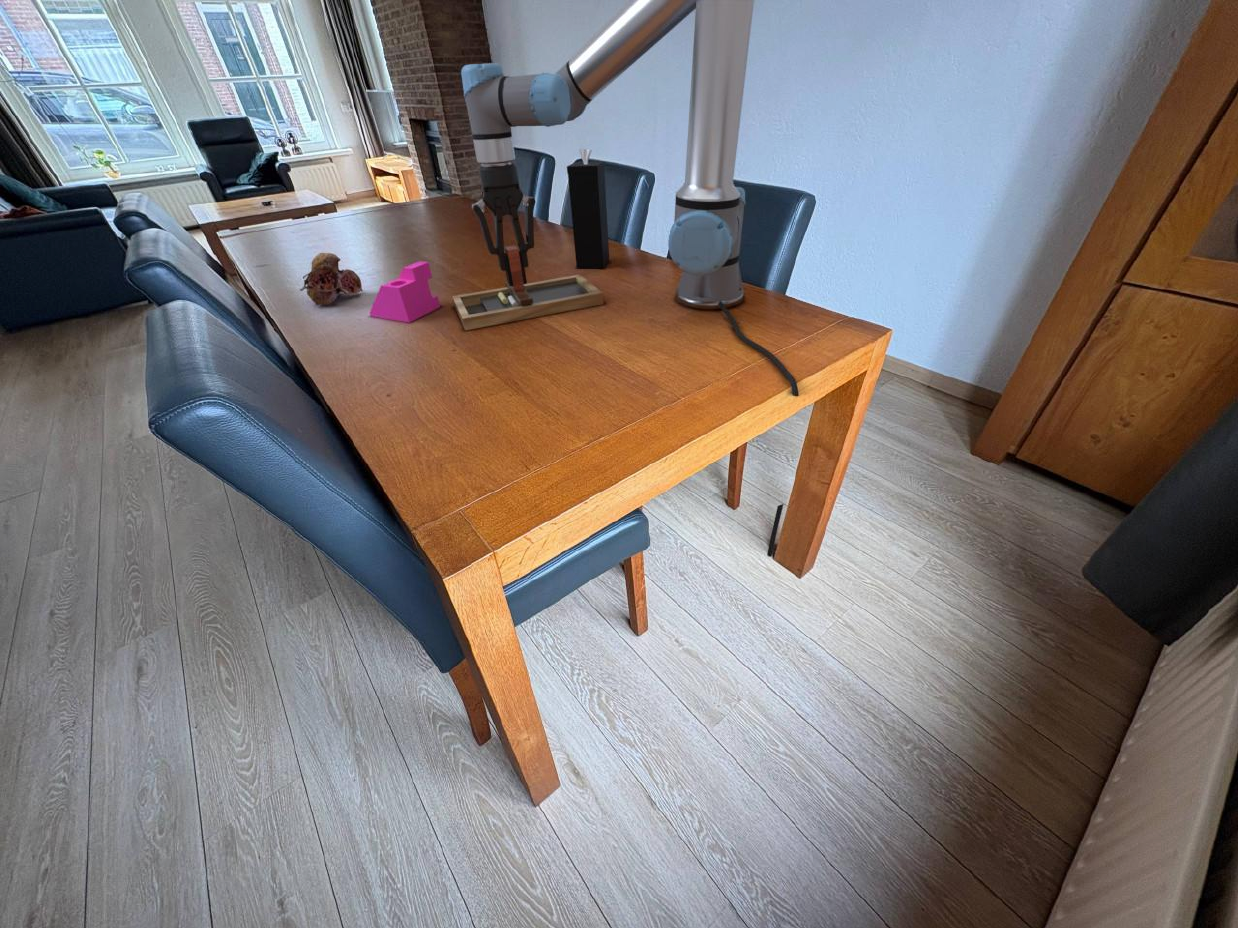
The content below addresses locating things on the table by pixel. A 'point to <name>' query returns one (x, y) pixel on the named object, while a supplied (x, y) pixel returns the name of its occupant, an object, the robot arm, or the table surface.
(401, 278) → the bracket
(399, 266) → the table surface
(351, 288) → the seed pod
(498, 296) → the yellow chalk
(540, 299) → the slate
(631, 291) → the table surface
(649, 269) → the table surface
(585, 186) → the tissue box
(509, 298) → the white chalk
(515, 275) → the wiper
